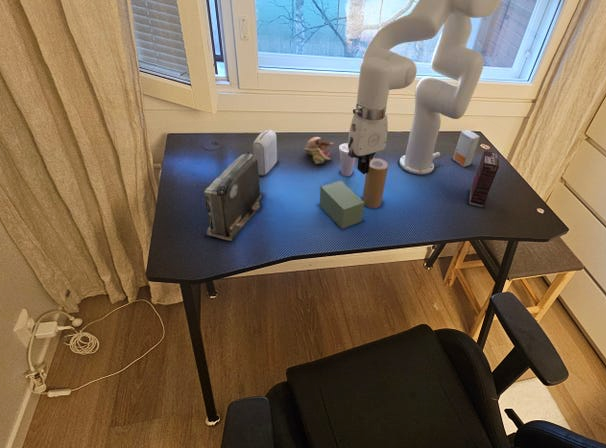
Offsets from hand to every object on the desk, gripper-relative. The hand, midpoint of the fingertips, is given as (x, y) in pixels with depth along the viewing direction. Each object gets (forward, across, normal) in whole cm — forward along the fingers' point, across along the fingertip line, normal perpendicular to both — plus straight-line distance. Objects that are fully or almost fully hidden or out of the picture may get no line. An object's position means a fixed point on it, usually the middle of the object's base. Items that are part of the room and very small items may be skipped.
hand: (362, 171), depth 112 cm
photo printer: (+13, -15, +31) cm, 37 cm away
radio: (+13, -32, +14) cm, 37 cm away
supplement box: (+13, +38, -15) cm, 43 cm away
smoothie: (+13, +7, +17) cm, 23 cm away
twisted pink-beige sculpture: (+13, +3, +29) cm, 32 cm away
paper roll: (+12, +1, 0) cm, 12 cm away
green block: (+13, -6, 0) cm, 14 cm away
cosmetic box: (+13, +51, +4) cm, 53 cm away
